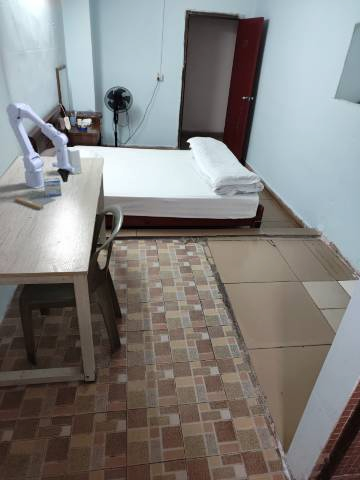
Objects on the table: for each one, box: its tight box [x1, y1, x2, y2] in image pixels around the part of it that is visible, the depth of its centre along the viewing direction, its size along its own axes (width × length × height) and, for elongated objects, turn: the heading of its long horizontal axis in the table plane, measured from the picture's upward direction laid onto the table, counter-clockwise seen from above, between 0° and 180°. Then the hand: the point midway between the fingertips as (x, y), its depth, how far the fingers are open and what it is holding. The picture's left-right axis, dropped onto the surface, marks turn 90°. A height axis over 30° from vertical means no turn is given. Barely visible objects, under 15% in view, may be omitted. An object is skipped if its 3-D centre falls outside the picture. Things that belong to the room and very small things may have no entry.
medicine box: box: [43, 177, 63, 198], centre depth 176 cm, size 8×4×9 cm, turn 117°
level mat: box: [14, 194, 56, 211], centre depth 170 cm, size 18×13×2 cm
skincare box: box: [67, 147, 83, 175], centre depth 208 cm, size 8×6×15 cm
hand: (65, 181), depth 183 cm, fingers closed
